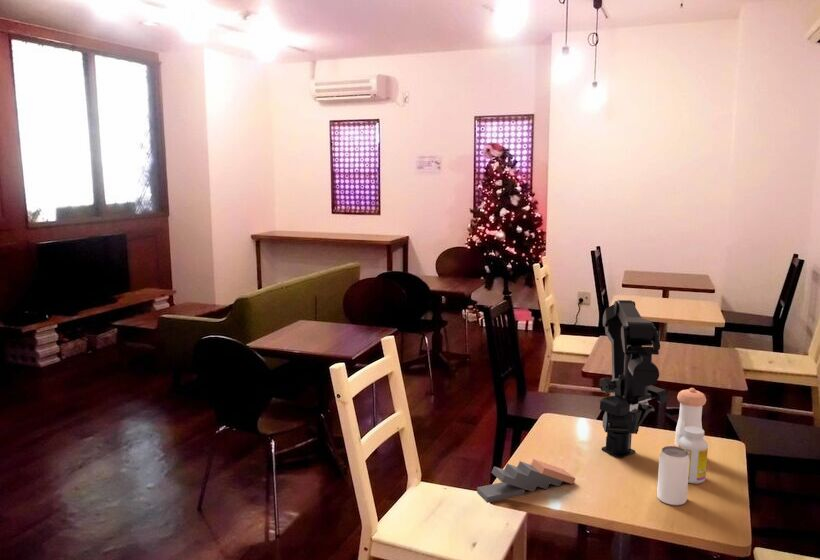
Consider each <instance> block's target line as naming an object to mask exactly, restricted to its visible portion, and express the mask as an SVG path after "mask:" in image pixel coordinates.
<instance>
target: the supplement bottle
mask: <svg viewBox="0 0 820 560" xmlns="http://www.w3.org/2000/svg"><path fill="white" fill-rule="evenodd" d="M683 433H684V436H683V437H681V438H680V439H679V444H678V447H680V448H683V449H685V450H686V451H687V452H688V457H689V476H688V484H697V485H698V484H702V483H704V482H705V481H706V476H707V465H708V464H707V463H708V462H707V461H708V450H709V449H708V447H709V445H708V444H709V443H708V442H707V441H706V440H705V439H704V437H705V430H704V429H703V428H702V429H701V428H699V427H694V426H687V427H685V428H684V432H683Z"/></svg>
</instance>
